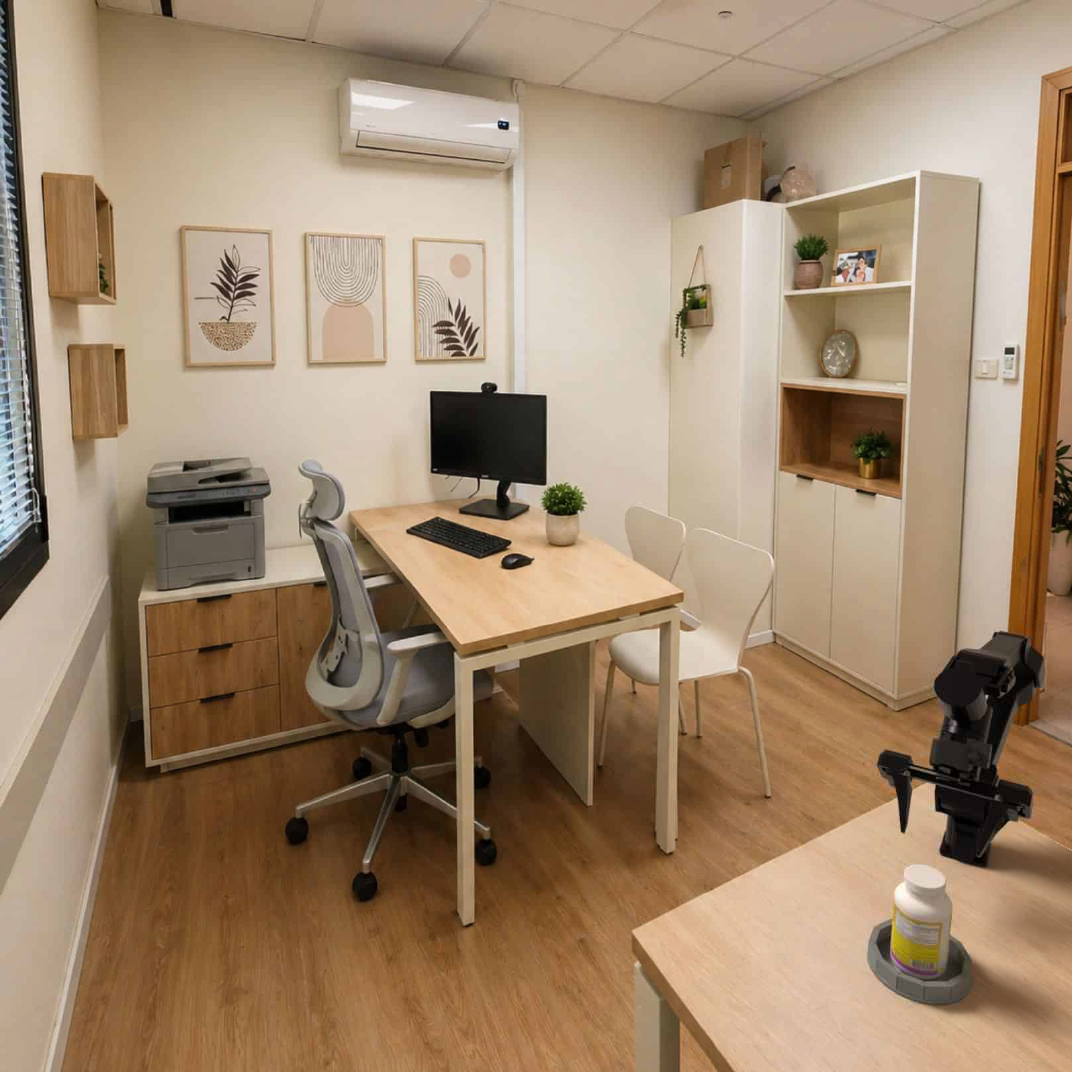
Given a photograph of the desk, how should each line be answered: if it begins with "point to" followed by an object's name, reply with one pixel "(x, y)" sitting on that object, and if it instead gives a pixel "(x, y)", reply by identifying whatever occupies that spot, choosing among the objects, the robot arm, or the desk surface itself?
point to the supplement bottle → (921, 923)
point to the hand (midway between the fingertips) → (939, 844)
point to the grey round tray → (919, 990)
